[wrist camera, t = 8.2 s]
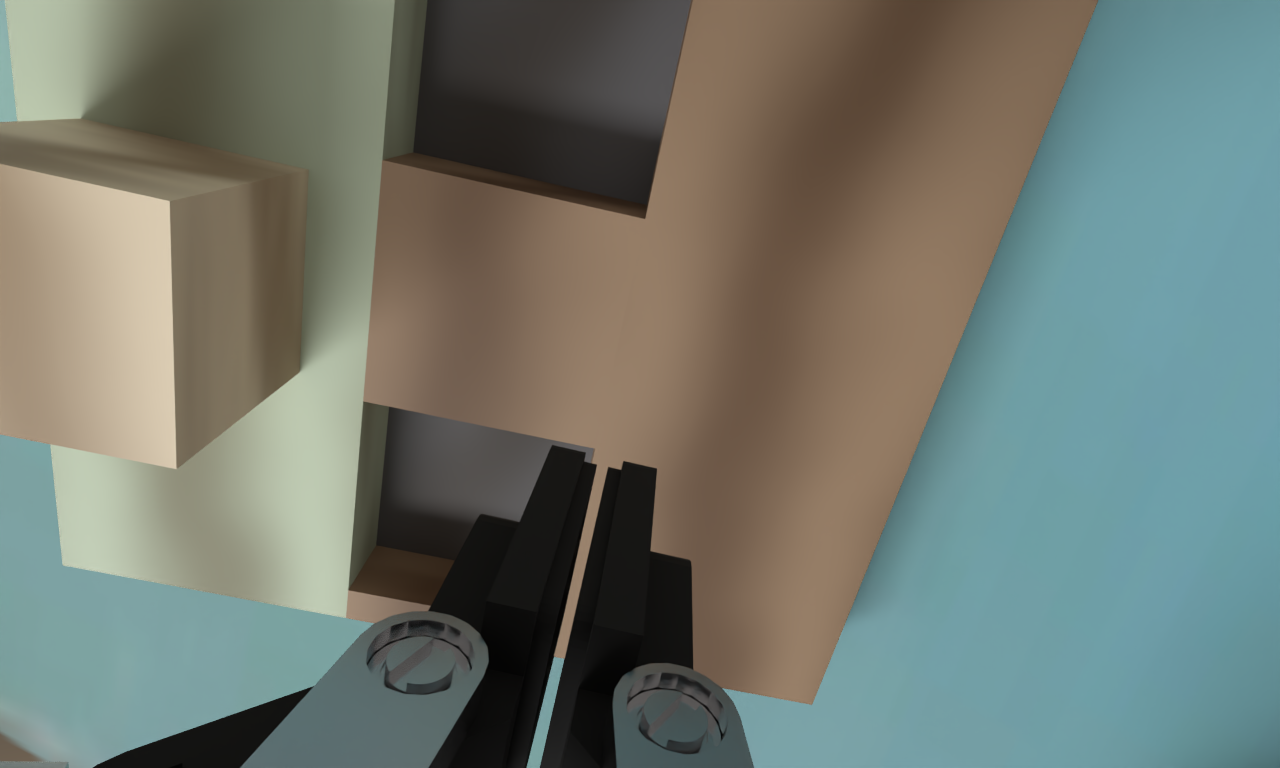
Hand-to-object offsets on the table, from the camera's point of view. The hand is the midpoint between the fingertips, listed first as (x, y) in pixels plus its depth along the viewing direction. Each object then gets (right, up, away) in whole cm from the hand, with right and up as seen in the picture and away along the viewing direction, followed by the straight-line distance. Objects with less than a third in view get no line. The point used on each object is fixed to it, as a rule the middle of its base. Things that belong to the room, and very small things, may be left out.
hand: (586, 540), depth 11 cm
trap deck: (-3, +5, +8) cm, 10 cm away
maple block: (-10, +6, +6) cm, 12 cm away
